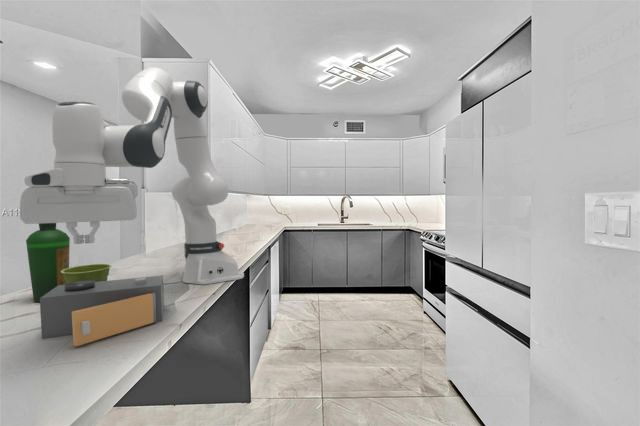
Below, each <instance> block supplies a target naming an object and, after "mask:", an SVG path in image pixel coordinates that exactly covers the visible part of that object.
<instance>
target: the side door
mask: <svg viewBox="0 0 640 426" xmlns="http://www.w3.org/2000/svg"><path fill="white" fill-rule="evenodd" d="M153 323H157V322H156V296H155V293H149V294H145V295H141V296H137V297H132V298H128V299H124V300H120V301H115V302H111V303H107V304H103V305H98V306H94V307H90V308H86V309H81V310H77V311H73V312H72V329H73V334H72V345H73V347H78V346H81V345H85V344H87V343H92V342H95V341H97V340H100V339H101V340H102V339H104V338H108V337H111V336H114V335H117V334H121V333H124V332H127V331H130V330H133V329H137V328H140V327H143V326H146V325H150V324H153Z"/></svg>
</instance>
